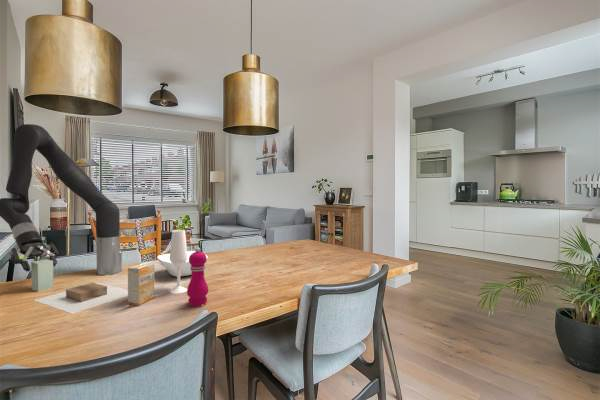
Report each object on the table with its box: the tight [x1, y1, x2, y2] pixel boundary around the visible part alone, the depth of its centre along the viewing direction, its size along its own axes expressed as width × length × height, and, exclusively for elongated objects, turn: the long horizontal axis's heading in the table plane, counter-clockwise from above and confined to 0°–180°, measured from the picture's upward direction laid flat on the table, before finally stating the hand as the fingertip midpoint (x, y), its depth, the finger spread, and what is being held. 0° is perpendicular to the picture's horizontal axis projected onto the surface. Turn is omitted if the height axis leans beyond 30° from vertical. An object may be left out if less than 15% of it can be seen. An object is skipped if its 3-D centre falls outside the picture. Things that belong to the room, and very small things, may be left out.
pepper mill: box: [186, 247, 209, 307], centre depth 109 cm, size 7×7×20 cm
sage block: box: [30, 258, 54, 293], centre depth 121 cm, size 5×5×11 cm
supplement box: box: [127, 262, 155, 306], centre depth 110 cm, size 8×5×13 cm, turn 168°
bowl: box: [157, 250, 209, 278], centre depth 144 cm, size 21×21×9 cm
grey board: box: [33, 282, 128, 315], centre depth 112 cm, size 22×24×1 cm
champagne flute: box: [169, 229, 188, 295], centre depth 121 cm, size 7×7×24 cm
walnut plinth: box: [65, 282, 107, 302], centre depth 111 cm, size 9×9×3 cm
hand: (42, 267), depth 121 cm, fingers open, 8 cm apart
